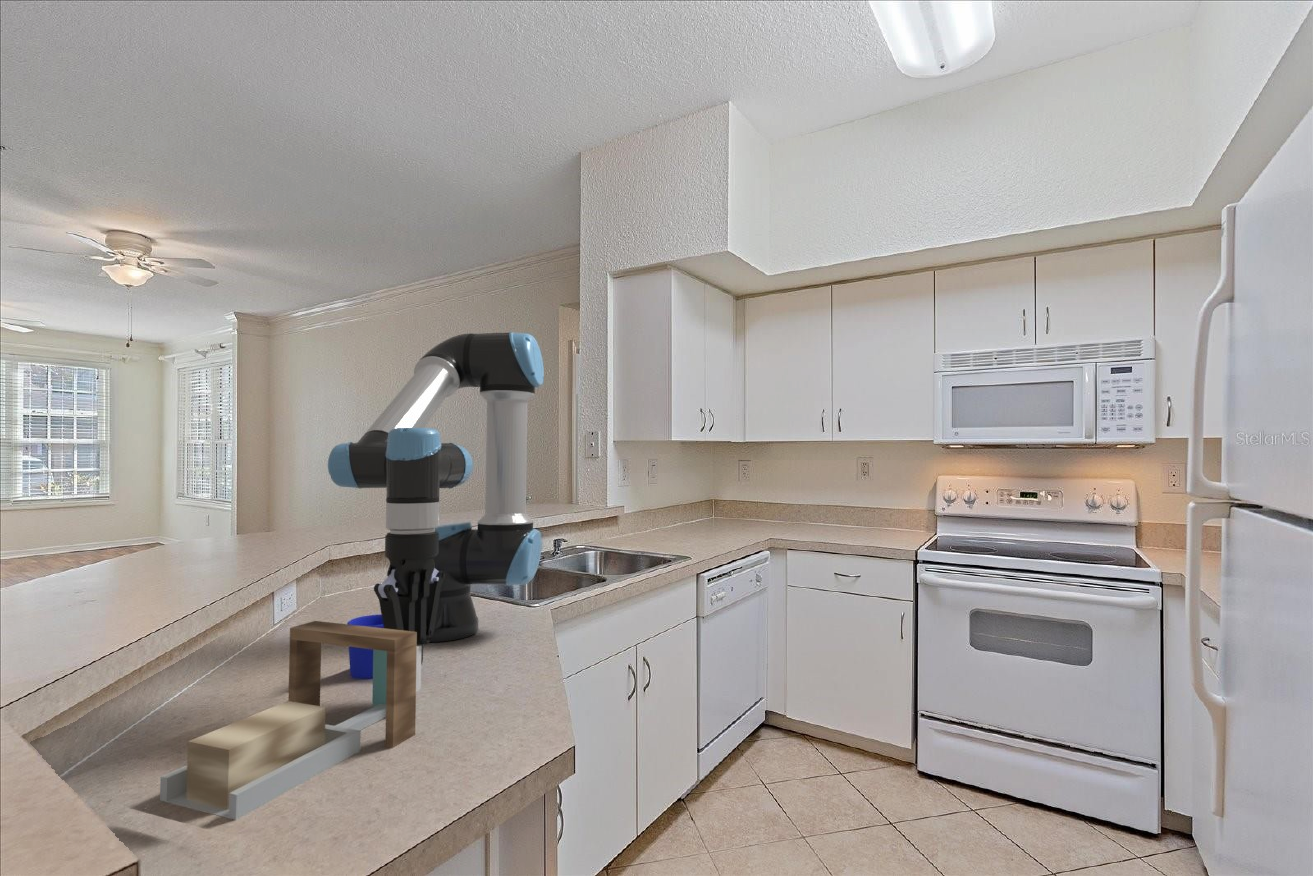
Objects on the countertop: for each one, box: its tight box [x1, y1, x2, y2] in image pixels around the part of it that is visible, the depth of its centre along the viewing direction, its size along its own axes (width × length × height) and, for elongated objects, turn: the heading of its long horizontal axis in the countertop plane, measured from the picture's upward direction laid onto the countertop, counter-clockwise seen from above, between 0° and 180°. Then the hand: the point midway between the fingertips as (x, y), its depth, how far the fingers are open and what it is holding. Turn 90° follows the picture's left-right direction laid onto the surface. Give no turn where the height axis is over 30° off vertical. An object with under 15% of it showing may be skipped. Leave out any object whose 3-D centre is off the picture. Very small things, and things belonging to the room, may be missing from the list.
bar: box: [186, 700, 326, 810], centre depth 71 cm, size 12×6×6 cm, turn 161°
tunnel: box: [287, 620, 417, 749], centre depth 84 cm, size 4×17×14 cm, turn 71°
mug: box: [346, 614, 384, 680], centre depth 107 cm, size 8×12×10 cm
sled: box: [159, 650, 387, 821], centre depth 78 cm, size 28×11×10 cm, turn 161°
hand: (410, 690), depth 94 cm, fingers closed
